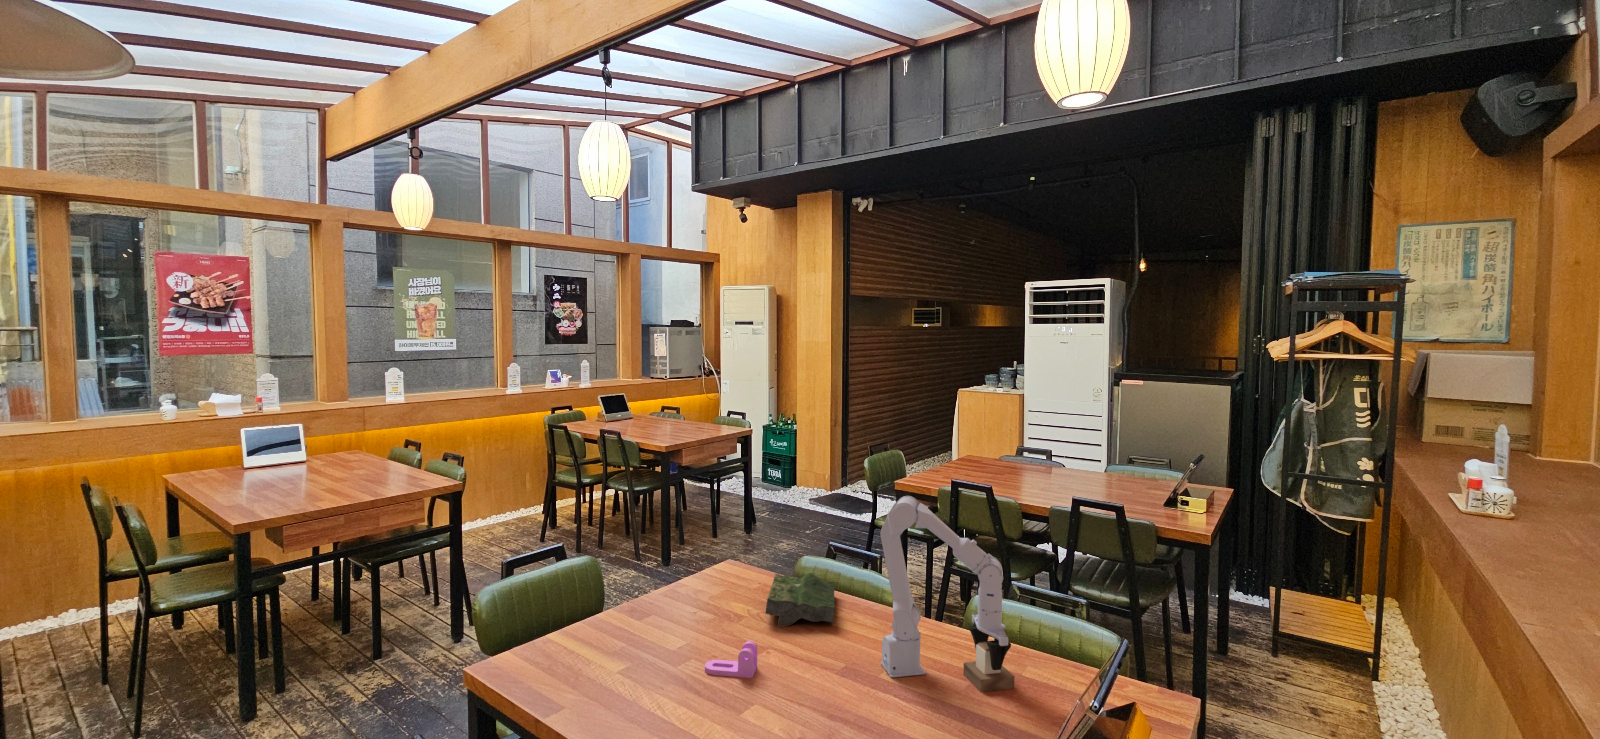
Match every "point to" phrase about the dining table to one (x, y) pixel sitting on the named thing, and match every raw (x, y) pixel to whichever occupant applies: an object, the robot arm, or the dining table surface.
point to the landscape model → (801, 599)
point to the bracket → (736, 663)
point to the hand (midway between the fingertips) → (988, 662)
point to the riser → (988, 678)
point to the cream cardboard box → (984, 659)
